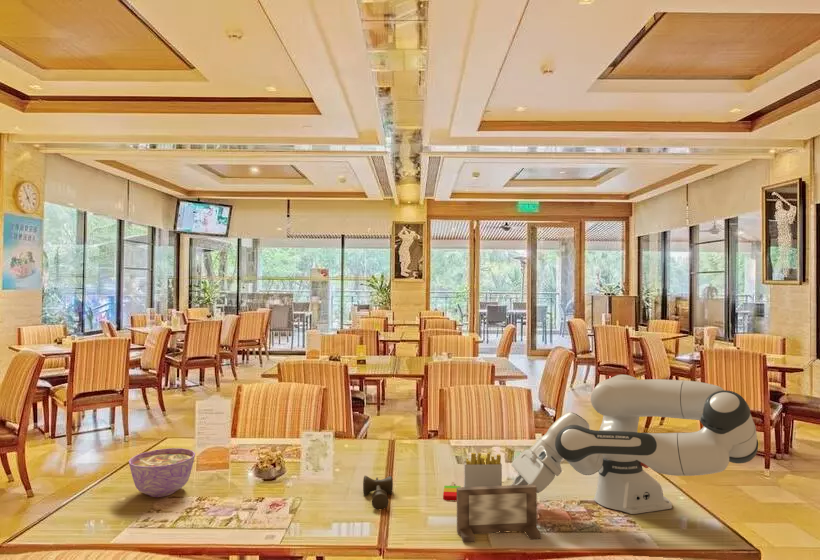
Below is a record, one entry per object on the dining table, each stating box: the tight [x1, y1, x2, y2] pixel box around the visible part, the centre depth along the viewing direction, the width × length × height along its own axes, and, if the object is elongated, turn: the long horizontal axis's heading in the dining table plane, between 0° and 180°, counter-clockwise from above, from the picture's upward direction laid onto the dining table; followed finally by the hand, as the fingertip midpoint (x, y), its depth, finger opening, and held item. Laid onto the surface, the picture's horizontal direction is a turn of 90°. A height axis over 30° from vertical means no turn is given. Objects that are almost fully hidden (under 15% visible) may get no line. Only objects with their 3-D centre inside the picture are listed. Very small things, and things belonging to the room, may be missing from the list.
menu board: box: [456, 484, 542, 544], centre depth 148 cm, size 22×7×12 cm, turn 96°
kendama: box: [362, 475, 394, 511], centre depth 175 cm, size 6×10×20 cm
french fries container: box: [463, 452, 503, 487], centre depth 163 cm, size 5×11×18 cm, turn 91°
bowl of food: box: [128, 447, 196, 498], centre depth 179 cm, size 20×20×12 cm
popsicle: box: [442, 481, 461, 502], centre depth 179 cm, size 6×15×2 cm, turn 173°
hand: (512, 489), depth 164 cm, fingers closed
